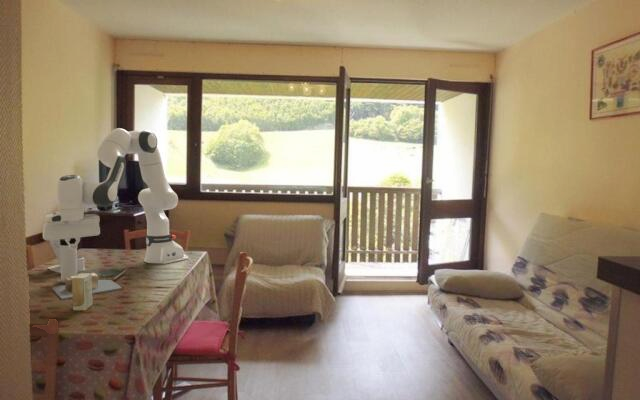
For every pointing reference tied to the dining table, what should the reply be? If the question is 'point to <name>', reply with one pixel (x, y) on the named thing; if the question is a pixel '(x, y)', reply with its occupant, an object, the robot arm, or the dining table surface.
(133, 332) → the dining table surface
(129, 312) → the dining table surface
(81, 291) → the skincare box
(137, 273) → the dining table surface
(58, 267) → the phone holder
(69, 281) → the birch block
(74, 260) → the travel mug
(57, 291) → the grey mat
